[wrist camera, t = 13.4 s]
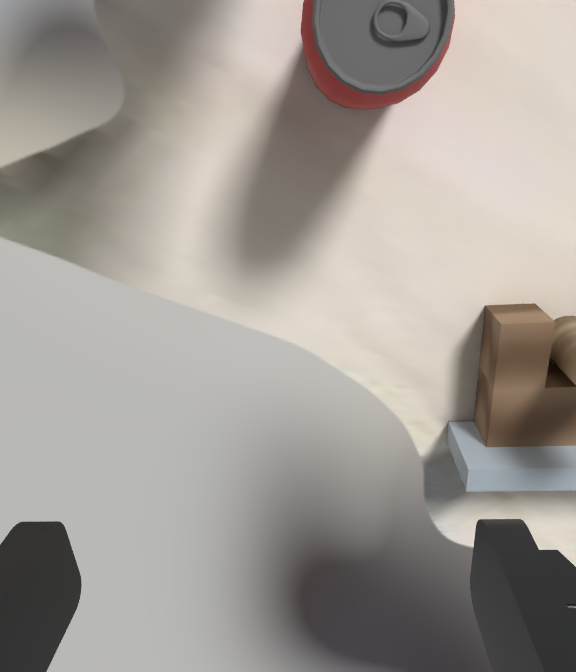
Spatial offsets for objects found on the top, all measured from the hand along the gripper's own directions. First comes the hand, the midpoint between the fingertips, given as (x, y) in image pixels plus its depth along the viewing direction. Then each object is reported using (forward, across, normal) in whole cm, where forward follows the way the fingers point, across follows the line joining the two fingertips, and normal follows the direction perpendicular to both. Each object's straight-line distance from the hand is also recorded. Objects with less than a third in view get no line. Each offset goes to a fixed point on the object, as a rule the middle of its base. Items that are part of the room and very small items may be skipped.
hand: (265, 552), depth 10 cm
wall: (+28, -19, +17) cm, 38 cm away
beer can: (+28, -4, -11) cm, 31 cm away
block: (+28, -19, +11) cm, 36 cm away
